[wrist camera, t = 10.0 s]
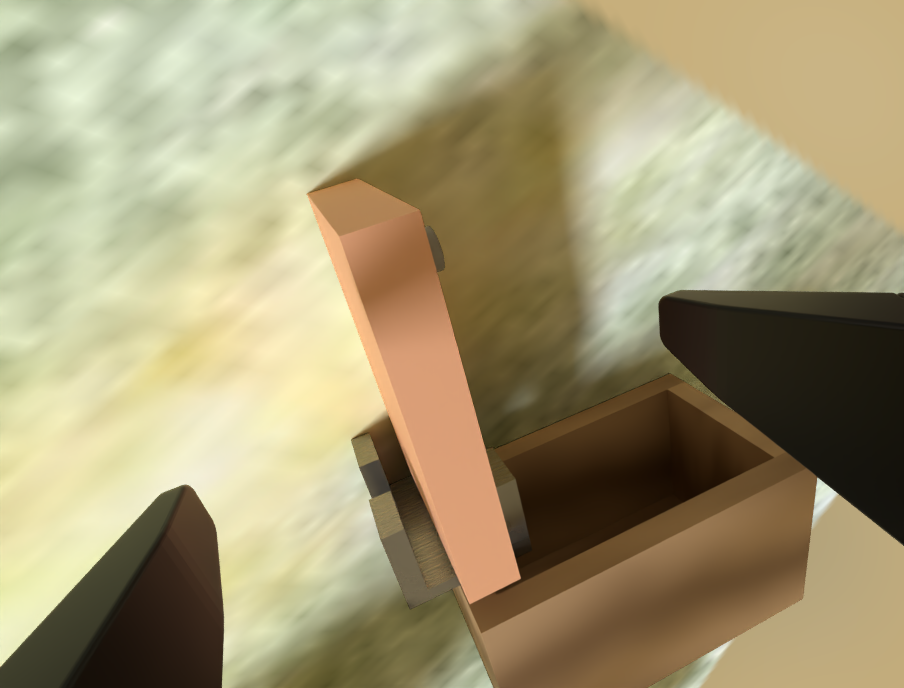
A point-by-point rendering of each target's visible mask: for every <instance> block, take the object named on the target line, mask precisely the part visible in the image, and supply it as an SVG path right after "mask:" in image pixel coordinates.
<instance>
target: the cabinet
mask: <svg viewBox="0 0 904 688" xmlns="http://www.w3.org/2000/svg"><path fill="white" fill-rule="evenodd" d="M494 450H495V452H496V453H497V454H498V456H499V457H500V459H501V460H502V461H503V463H504V464H505V465H506V467H507V468H508V469H509V471H510V472H511V474H512V475H513V476H514V478H515V479H516V483H517V487H518V492H519V496H520V500H521V504H522V509H523V513H524V517H525V521H526V526H527V530H528V534H529V538H530V543H531V547H532V551H530V552H528V553H526V554H524V555H522V556H520V557H518V558H515V559H516V563H517V566H518V570H519V574H520V577H521V579H519V580H517V581H515V582H513V583H511V584H509V585H507V586H505V587H503V588H501V589H499V590H497V591H495V592H493V593H491V594H489V595H487V596H485V597H483V598H481V599H479V600H477V601H475V602H473V603H471V604H469V602H468V600H467V598H466V595H465V593H464V591H463V589H462V586H461V585H460V586H458V587H455V588H453V592H454V594H455V597H456V599H457V602H458V604H459V607H460V609H461V611H462V614H463V616H464V619H465V621H466V623H467V626H468V628H469V630H470V633H471V635H472V638H473V640H474V642H475V645H476V647H477V650H478V652H479V654H480V657H481V659H482V661H483V664H484V666H485V669H486V671H487V673H488V676H489V678H490V680H491V683H492V685H493V688H648V687H649V686H651V685H653V684H655V683H656V682H658V681H660V680H662V679H663V678H665V677H667V676H669V675H670V674H672V673H674V672H676V671H677V670H679V669H681V668H683V667H684V666H686V665H688V664H690V663H691V662H693V661H695V660H697V659H698V658H700V657H702V656H704V655H705V654H707V653H709V652H711V651H712V650H714V649H716V648H718V647H719V646H721V645H723V644H725V643H726V642H728V641H730V640H732V639H733V638H735V637H737V636H738V635H740V634H742V633H744V632H746V631H747V630H749V629H751V628H753V627H754V626H756V625H758V624H759V623H761V622H763V621H765V620H767V619H768V618H770V617H772V616H774V615H775V614H777V613H779V612H780V611H782V610H784V609H786V608H788V607H789V606H791V605H792V604H795V603H796V602H798V601H800V600H802V599H803V594H804V585H805V577H806V568H807V560H808V551H809V543H810V535H811V526H812V518H813V509H814V501H815V492H816V484H817V476H815V475H814V474H813V473H812V472H810V471H809V470H808V469H807V468H805V467H804V466H803V465H802V464H800V463H799V462H798V461H797V460H795V459H794V458H793V457H792V456H790V455H789V454H788V453H787V452H785V451H784V450H783V449H781V448H780V447H779V446H778V445H776V444H775V443H774V442H773V441H771V440H770V439H769V438H768V437H766V436H765V435H764V434H763V433H761V432H760V431H759V430H758V429H756V428H755V427H754V426H753V425H751V424H750V423H749V422H748V421H746V420H745V419H744V418H743V417H741V416H740V415H739V414H738V413H736V412H734V411H733V410H731V409H729V408H728V407H726V406H724V405H723V404H721V403H719V402H718V401H716V400H714V399H712V398H711V397H709V396H707V395H706V394H704V393H702V392H701V391H699V390H697V389H696V388H694V387H692V386H691V385H689V384H687V383H686V382H684V381H682V380H681V379H679V378H677V377H676V376H674V375H672V374H668V375H665V376H663V377H661V378H659V379H656V380H654V381H652V382H649V383H647V384H645V385H642V386H640V387H638V388H635V389H633V390H631V391H628V392H626V393H624V394H621V395H619V396H617V397H615V398H612V399H610V400H608V401H605V402H603V403H601V404H598V405H596V406H594V407H591V408H589V409H587V410H584V411H582V412H580V413H577V414H575V415H573V416H570V417H568V418H566V419H564V420H561V421H559V422H557V423H554V424H552V425H550V426H547V427H545V428H543V429H540V430H538V431H536V432H533V433H531V434H529V435H526V436H524V437H522V438H520V439H517V440H515V441H513V442H510V443H508V444H506V445H503V446H501V447H499V448H496V449H494Z"/></svg>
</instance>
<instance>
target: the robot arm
mask: <svg viewBox="0 0 904 688" xmlns="http://www.w3.org/2000/svg"><path fill="white" fill-rule="evenodd" d="M658 307H659V326H660V337H661V340H662V342H663V344H664V345H665V347H666V348H667V349H668V350H669V351H670V352H671V353H672V354H673V355H674V356H675V357H676V358H677V359H678V360H679V361H680V362H681V363H682V364H683V365H684V366H686V367H687V368H688V369H689V370H690V371H691V372H692V373H693V374H694V375H695V376H696V377H697V378H698V379H699V380H700V381H701V382H702V383H703V384H704V385H705V386H706V387H707V388H708V389H709V390H710V391H711V392H712V393H713V394H715V395H716V396H717V397H718V398H719V399H720V400H721V401H723V402H724V403H725V404H726V405H727V406H729V407H730V408H731V409H733V410H734V411H735V412H736V413H738V414H739V415H740V416H741V417H743V418H744V419H745V420H746V421H748V422H749V423H750V424H751V425H753V426H754V427H755V428H756V429H758V430H759V431H760V432H761V433H763V434H764V435H765V436H766V437H768V438H769V439H770V440H771V441H773V442H774V443H775V444H776V445H778V446H779V447H780V448H781V449H783V450H784V451H785V452H787V453H788V454H789V455H790V456H792V457H793V458H794V459H795V460H797V461H798V462H799V463H800V464H802V465H803V466H804V467H805V468H807V469H808V470H809V471H810V472H812V473H813V474H814V475H815V476H817V477H818V478H819V479H820V480H822V481H823V482H824V483H825V484H827V485H828V486H829V487H830V488H832V489H833V490H834V491H836V492H837V493H838V494H839V495H841V496H842V497H843V498H844V499H846V500H847V501H848V502H849V503H851V504H852V505H853V506H854V507H856V508H857V509H858V510H859V511H861V512H862V513H863V514H864V515H866V516H867V517H868V518H870V519H871V520H872V521H873V522H875V523H876V524H877V525H878V526H880V527H881V528H882V529H883V530H884V531H886V532H887V533H888V534H890V535H891V536H892V537H893V538H895V539H896V540H897V541H898V542H900V543H901V544H902V545H903V546H904V293H899V294H895V293H866V292H790V291H715V290H679V291H676V292H673V293H670V294H668V295H665V296H663V297H662V298H661V299H660V301H659V306H658ZM223 642H224V610H223V597H222V586H221V575H220V564H219V553H218V542H217V532H216V528H215V525H214V522H213V520H212V518H211V517H210V515H209V513H208V512H207V510H206V509H205V507H204V505H203V504H202V502H201V500H200V499H199V497H198V496H197V494H196V492H195V491H194V489H193V488H192V487H190V486H189V485H181V486H179V487H176V488H174V489H171V490H169V491H166V492H164V493H162V494H160V495H159V496H158V497H157V498H156V499H155V500H154V502H153V503H152V504H151V505H150V506H149V507H148V508H147V509H146V510H145V511H144V512H143V513H142V515H141V516H140V517H139V518H138V519H137V520H136V521H135V522H134V523H133V524H132V525H131V526H130V528H129V529H128V530H127V531H126V532H125V533H124V534H123V535H122V536H121V537H120V538H119V539H118V540H117V542H116V543H115V544H114V545H113V546H112V547H111V548H110V549H109V550H108V551H107V552H106V553H105V555H104V556H103V557H102V558H101V559H100V560H99V561H98V562H97V563H96V564H95V565H94V566H93V567H92V569H91V570H90V571H89V572H88V573H87V574H86V575H85V576H84V577H83V578H82V579H81V580H80V582H79V583H78V584H77V585H76V586H75V587H74V588H73V589H72V590H71V591H70V592H69V593H68V595H67V596H66V597H65V598H64V599H63V600H62V601H61V602H60V603H59V604H58V605H57V606H56V607H55V609H54V610H53V611H52V612H51V613H50V614H49V615H48V616H47V617H46V618H45V619H44V620H43V622H42V623H41V624H40V625H39V626H38V627H37V628H36V629H35V630H34V631H33V632H32V633H31V634H30V636H29V637H28V638H27V639H26V640H25V641H24V642H23V643H22V644H21V645H20V646H19V647H18V649H17V650H16V651H15V652H14V653H13V654H12V655H11V656H10V657H9V658H8V659H7V660H6V662H5V663H4V664H3V665H2V666H1V667H0V688H222V669H223Z"/></svg>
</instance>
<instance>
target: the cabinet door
mask: <svg viewBox="0 0 904 688" xmlns="http://www.w3.org/2000/svg"><path fill="white" fill-rule="evenodd" d="M307 195H308V198H309V201H310V204H311V206H312V209H313V212H314V214H315V217H316V220H317V223H318V225H319V228H320V231H321V233H322V236H323V239H324V241H325V244H326V247H327V250H328V252H329V255H330V258H331V260H332V263H333V266H334V269H335V271H336V274H337V277H338V279H339V282H340V285H341V287H342V290H343V293H344V296H345V298H346V301H347V304H348V306H349V309H350V312H351V314H352V317H353V320H354V323H355V325H356V328H357V331H358V333H359V336H360V339H361V342H362V344H363V347H364V350H365V352H366V355H367V358H368V360H369V363H370V366H371V369H372V371H373V374H374V377H375V379H376V382H377V385H378V388H379V390H380V393H381V396H382V398H383V401H384V404H385V406H386V409H387V412H388V415H389V417H390V420H391V423H392V425H393V428H394V431H395V434H396V436H397V439H398V442H399V444H400V447H401V450H402V452H403V455H404V458H405V461H406V463H407V465H408V467H409V470H410V472H411V474H412V476H413V479H414V481H415V483H416V485H417V488H418V490H419V492H420V494H421V497H422V499H423V501H424V503H425V506H426V508H427V510H428V512H429V515H430V517H431V519H432V521H433V524H434V526H435V528H436V530H437V532H438V535H439V537H440V539H441V541H442V544H443V546H444V548H445V550H446V553H447V555H448V557H449V559H450V562H451V564H452V566H453V568H454V571H455V573H456V575H457V577H458V580H459V582H460V584H461V586H462V589H463V591H464V593H465V595H466V598H467V600H468V602H469V604H471V603H473V602H475V601H477V600H479V599H481V598H483V597H485V596H487V595H489V594H491V593H493V592H495V591H497V590H499V589H501V588H503V587H505V586H507V585H509V584H511V583H513V582H515V581H517V580H519V579H521V577H520V574H519V570H518V566H517V563H516V559H515V555H514V552H513V548H512V544H511V541H510V537H509V533H508V530H507V526H506V522H505V519H504V515H503V511H502V508H501V504H500V501H499V497H498V493H497V490H496V486H495V482H494V479H493V475H492V471H491V468H490V464H489V460H488V457H487V453H486V449H485V446H484V442H483V438H482V435H481V431H480V427H479V424H478V420H477V416H476V413H475V409H474V405H473V402H472V398H471V394H470V391H469V387H468V384H467V380H466V376H465V373H464V369H463V365H462V362H461V358H460V354H459V351H458V347H457V343H456V340H455V336H454V332H453V329H452V325H451V321H450V318H449V314H448V310H447V307H446V303H445V299H444V296H443V292H442V288H441V285H440V281H439V277H438V274H437V272H439V271H442V270H444V268H445V263H444V257H443V252H442V249H441V246H440V243H439V241H438V238H437V236H436V234H435V232H434V231H433V229H432V228H431V227H430V226H427V227H425V226H424V223H423V219H422V215H421V212H420V210H419V209H417V208H415V207H413V206H411V205H409V204H407V203H405V202H403V201H401V200H399V199H397V198H395V197H393V196H391V195H389V194H387V193H385V192H383V191H381V190H379V189H377V188H375V187H373V186H371V185H369V184H367V183H365V182H363V181H361V180H359V179H353V180H350V181H347V182H344V183H340V184H337V185H334V186H331V187H327V188H324V189H321V190H318V191H315V192H311V193H308V194H307Z"/></svg>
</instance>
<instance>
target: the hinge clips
mask: <svg viewBox="0 0 904 688" xmlns="http://www.w3.org/2000/svg"><path fill="white" fill-rule="evenodd" d="M351 441H352V445H353V448H354V452H355V455H356V458H357V462H358V465H359V468H360V471H361V473H362V475H363V478H364V480H365V483H366V485H367V488H368V490H369V492H370V495H371V497H372V499H370V500H369V502H370V506H371V509H372V512H373V516H374V519H375V523H376V526H377V529H378V533H379V536H380V539H381V542H382V544H383V547H384V549H385V551H386V554H387V556H388V558H389V561H390V563H391V566H392V568H393V570H394V573H395V575H396V577H397V580H398V582H399V584H400V587H401V589H402V591H403V594H404V596H405V599H406V601H407V603H408V606H409V608H410V609H412V608H414V607H416V606H418V605H420V604H422V603H424V602H426V601H429V600H431V599H433V598H435V597H437V596H439V595H441V594H443V593H445V592H447V591H449V590H451V589H453V588H455V587H458V586H460V585H461V584H460V582H459V580H458V577H457V575H456V573H455V571H454V568H453V566H452V564H451V562H450V559H449V557H448V555H447V553H446V550H445V548H444V546H443V544H442V541H441V539H440V537H439V535H438V532H437V530H436V528H435V526H434V524H433V521H432V519H431V517H430V515H429V512H428V510H427V508H426V506H425V503H424V501H423V499H422V497H421V494H420V492H419V490H418V488H417V485H416V483H415V481H414V479H413V476H410V477H407V478H405V479H403V480H400V481H398V482H396V483H393V484H391V485H389V483H388V480H387V478H386V475H385V472H384V470H383V467H382V465H381V462H380V459H379V457H378V454H377V452H376V449H375V446H374V444H373V441H372V439H371V436H370V433H367V434H364V435H362V436H359V437H357V438H354V439H352V440H351ZM486 453H487V457H488V460H489V464H490V468H491V471H492V475H493V479H494V482H495V486H496V490H497V493H498V497H499V501H500V504H501V508H502V511H503V515H504V519H505V522H506V526H507V530H508V533H509V537H510V541H511V544H512V548H513V552H514V555H515V558H518V557H520V556H522V555H524V554H526V553H528V552H530V551H532V547H531V543H530V538H529V534H528V530H527V526H526V521H525V517H524V513H523V509H522V504H521V500H520V496H519V492H518V487H517V483H516V479H515V478H514V476H513V475H512V474H511V472H510V471H509V469H508V468H507V467H506V465H505V464H504V463H503V461H502V460H501V459H500V457H499V456H498V454H497V453H496V452H495V450H494V449H493V448H492V447H491V448H488V449H486Z"/></svg>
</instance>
